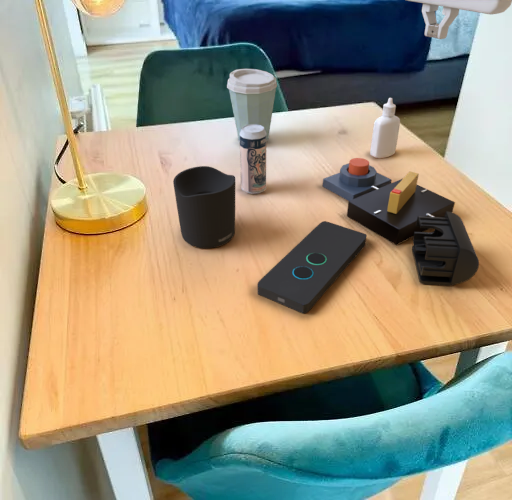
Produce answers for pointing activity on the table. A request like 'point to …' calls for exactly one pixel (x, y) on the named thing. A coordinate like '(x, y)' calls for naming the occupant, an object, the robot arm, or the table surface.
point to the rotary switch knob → (402, 192)
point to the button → (358, 166)
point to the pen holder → (205, 206)
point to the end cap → (443, 251)
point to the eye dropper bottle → (385, 132)
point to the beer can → (253, 158)
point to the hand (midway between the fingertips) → (435, 37)
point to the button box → (354, 183)
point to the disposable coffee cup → (252, 98)
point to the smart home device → (312, 266)
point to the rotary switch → (404, 222)
